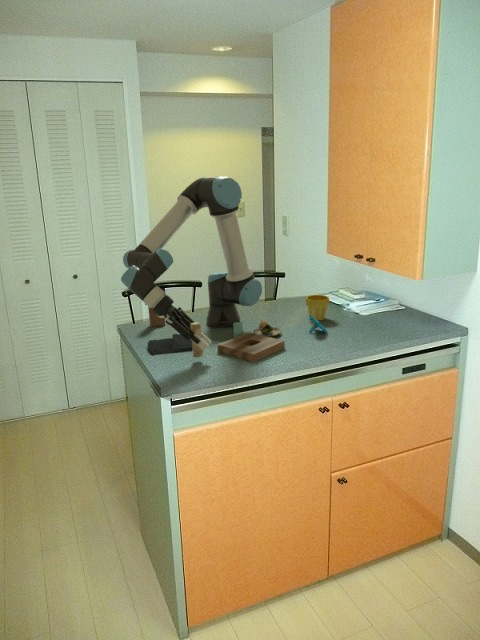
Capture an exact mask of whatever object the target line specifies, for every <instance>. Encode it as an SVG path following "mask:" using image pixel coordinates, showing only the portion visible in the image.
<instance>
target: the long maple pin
mask: <svg viewBox="0 0 480 640" xmlns="http://www.w3.org/2000/svg"><path fill="white" fill-rule="evenodd" d="M194 322H195V323H191V324H190V325H191V331H192V332H193V333H194V334H195V333H196V334H197V335H198V336H199V337H201V338H202V335H201V332H202V323H201V322H199V321H198V322H197V321H194ZM192 349H193V351H192V358H193V357H194V358H201V357H203V356H204V351H203V350H202V349H201V348H200V347H199V346H198V345H197V344H195V343H194V342H193V341H192Z"/></svg>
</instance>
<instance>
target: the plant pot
mask: <svg viewBox="0 0 480 640" xmlns="http://www.w3.org/2000/svg"><path fill="white" fill-rule="evenodd" d="M305 305H306V306H307V310H308V314H309V316H310V315H311V316H313V317H314V318H315V319H316V320H318V321H323V320H325V319H326V316H327V315H326V314H327V310H328V307H329V305H330V297H329V296H327V295H324V294H311V295H307V296H306V297H305ZM309 316H308V317H309Z"/></svg>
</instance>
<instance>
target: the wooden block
mask: <svg viewBox="0 0 480 640" xmlns="http://www.w3.org/2000/svg"><path fill="white" fill-rule="evenodd" d="M147 307H148V318H149V319H148V320H149V325H150V328H152V327H153V328H154V327H161V326H166V322H165V321H166V317H165V316H164V315H161V316H158V315H157V314H156V313H155V312H154V311H153V308H150V307H149V306H147Z"/></svg>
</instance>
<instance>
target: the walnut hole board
mask: <svg viewBox="0 0 480 640" xmlns="http://www.w3.org/2000/svg"><path fill="white" fill-rule="evenodd" d="M285 343H286V341H285V340H284V339H283V340H282V339H278V338H275V337H267V336H262V335H258V334H254V333H253V332H250V331H248V332H246V333H243V335H241V336H238V337H235V338H234V337H233V338H230V339H228V340H226V341H223V342H220V343H217V344H216V345H217V352H218V353H220V354H224V355H227V356H228V355H229V356H230V357H235V358H238V359H241V360H245V361H248V362H252V363H255V362H257V361H260V360H261V358H262V359H264V358H266V357H268V356H271V355H273V354H274V352H275V353H277V352H279V351H282V350H284V349H286V348H285ZM281 349H282V350H281ZM272 353H273V354H272ZM270 354H271V355H270ZM259 359H260V360H259Z"/></svg>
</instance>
